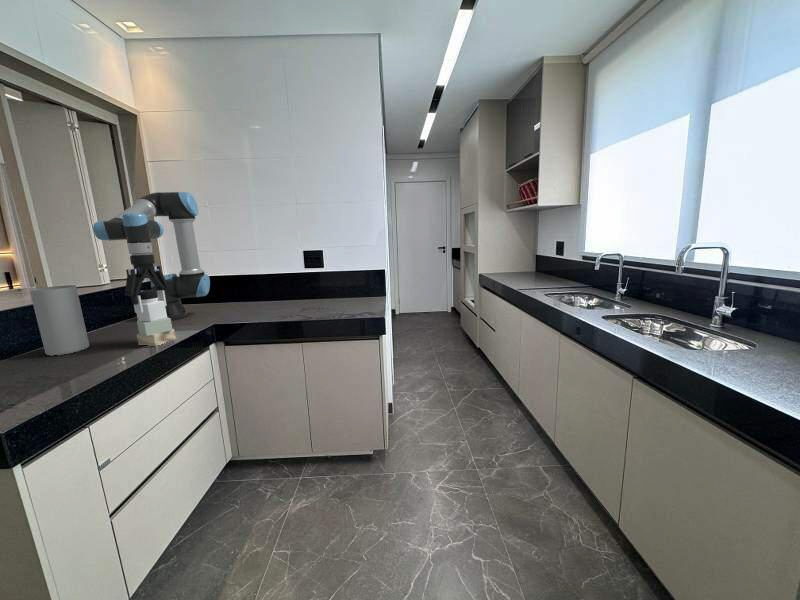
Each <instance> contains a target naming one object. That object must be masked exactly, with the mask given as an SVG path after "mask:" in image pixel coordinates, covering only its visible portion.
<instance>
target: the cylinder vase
mask: <svg viewBox="0 0 800 600" xmlns="http://www.w3.org/2000/svg"><path fill="white" fill-rule="evenodd" d="M29 294H30V298H31V301H32V305H33V310H34V313H35V317H36V321H37V322H36V323H37V325H38V329H39V334H40V336H41V341H42V345H43V349H44V353H45V355H47V356H51V357H53V356H54V355H57V356H63V355H64V354H65V355H70V354H74V352H75V353H78V352H81V350H82V351H83V350H84V351H85V350H86V349H87V348H89V347H90V341H89V338H88V333H87V328H86V324H85V320H84V316H83V311H82V307H81V302H80V297H79V293H78V289H77V285H76V284H75V285H74V284H72V285H71V284H69V285H57V286H56V285H55V286H46V287H38V288H33V289H29ZM65 355H64V356H65ZM54 357H55V356H54Z"/></svg>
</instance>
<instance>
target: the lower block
mask: <svg viewBox="0 0 800 600" xmlns="http://www.w3.org/2000/svg"><path fill="white" fill-rule="evenodd" d="M172 329H173V330H172V331H167V332H163V333H158V334H154V335H149V336H146V335H143V334H141V333H139V332H138V333H136V337H137V343H138V346H139V345H148V346H147V347H151V346H157V345H160V346H162V345H161V344H163V345H165V344H167V343H166V342H168V343H170V342H169V341H171V342H173V341H172V340H174V341H176V340H177V337H176V331H175V329H174V328H172ZM175 339H176V340H175ZM164 343H165V344H164ZM157 347H158V346H157Z"/></svg>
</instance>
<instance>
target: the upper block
mask: <svg viewBox="0 0 800 600" xmlns="http://www.w3.org/2000/svg"><path fill="white" fill-rule="evenodd" d="M136 324H137V329H138V330H137V331H138V334H139V333H141V334H143V335H146V336H149V335H154V334H158V333H163V332H167V331H172V330H173V329H174V328H173V325H172V320H171V318H168V317H167V318H164V319H160V320H156V321H152V322H142V321H138V320H136Z"/></svg>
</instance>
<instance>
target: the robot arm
mask: <svg viewBox="0 0 800 600" xmlns="http://www.w3.org/2000/svg"><path fill="white" fill-rule="evenodd" d="M198 207H199V206H198V204H197V202H196V199H195V198H194V196H193V195H192V194H191V193H190V192H182V191H173V192H165V191H164V192H160V191H159V192H152V193H149V194H146V195H143V196H141V197H139V198H138V199H136V200H135V201H133V203H132V205H130V207H128V208H126V209H125V210H123V211H121V212H120V213H119V214H117V215H115V216H114V217H113V218H111V219H109V220H102V221H96V222H95V223H94V224H93V225H92V229H93V230H92V231H93V234H94V236H95V237H96V238H97V240H100V241H109V242H110V241H123V240H126V243H127V244H126V245H127V250H128V254H129V255H130V256H129V260H130V264H131V265H132V266H133V269H131V268H129V269H128V268H127V269H126V270H125V271H126V282H125V290H124V294H125V296H127V297H130V299H131V303H132V305H133V308H134V313H136V314H137V313H142V312H143V308H142V303H141V298H140V296H139V294H138V293H139V292H140V291H141V290H140V289H141V287H142V284H143V281H144V280H146V279H149V280H150V287H151V290H156V291H157V294H158V301H164V302H165V307H166V313H167V317H168V318H171V321H175V320H179V319H184V318H186V317H187V316H188V313H187V311H186V309H185V307H184V305H183V304H182V301H181V299H184V298H199V297H205V296H207V295H208V294H209V292H210V288H211V287H210V286H211V280H210V279H211V278H210V275H208V274H207V273H205V270H203V269H202V268H201V264H200V258H199V252H198V247H197V241H196V235H195V228H194V223H195V220H196V216H198V215H199V208H198ZM154 217H155V218H157V217H168V221H170V222H171V223H172V224H173V229H174V234H175V235H174V236H175V241H176V245H177V251H178V252H177V253H178V257H179V263H180V266H181V268H180V269H181V270H180V271H179V273H178V275H177V274H176V273H170V274H165V275H164V274H163V272H162V267H161V265H154V264H155V263H156V262H155V255H154V254H153V246H152V240H156V239H159V238H161V237H162V236H163V234H164V227H163V225H162V224H161V223H160V222H159V221H157V220H154V219H153V220H152V218H154Z"/></svg>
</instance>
